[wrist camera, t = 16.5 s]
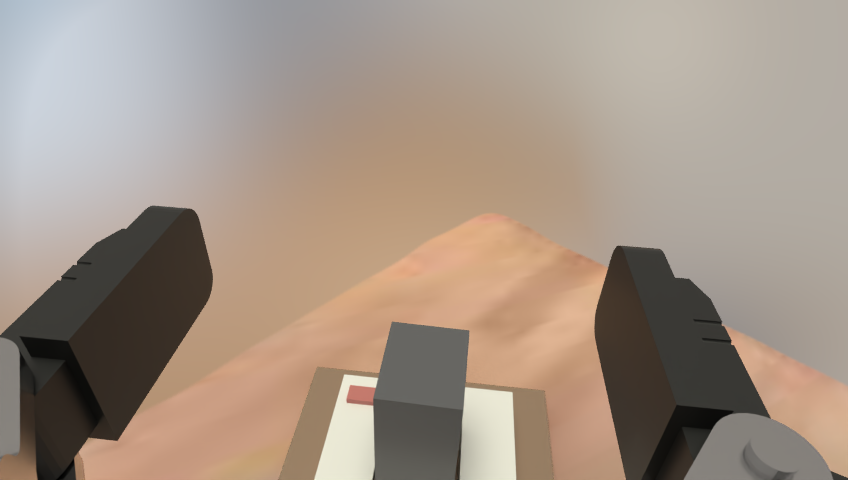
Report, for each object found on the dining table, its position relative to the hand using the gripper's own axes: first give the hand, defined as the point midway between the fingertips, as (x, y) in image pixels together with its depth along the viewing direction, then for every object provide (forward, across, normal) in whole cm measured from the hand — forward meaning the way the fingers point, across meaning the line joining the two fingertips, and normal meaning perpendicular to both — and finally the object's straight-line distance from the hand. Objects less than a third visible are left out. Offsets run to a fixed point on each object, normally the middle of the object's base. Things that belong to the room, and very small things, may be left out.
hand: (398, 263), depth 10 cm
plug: (+11, 0, +27) cm, 29 cm away
